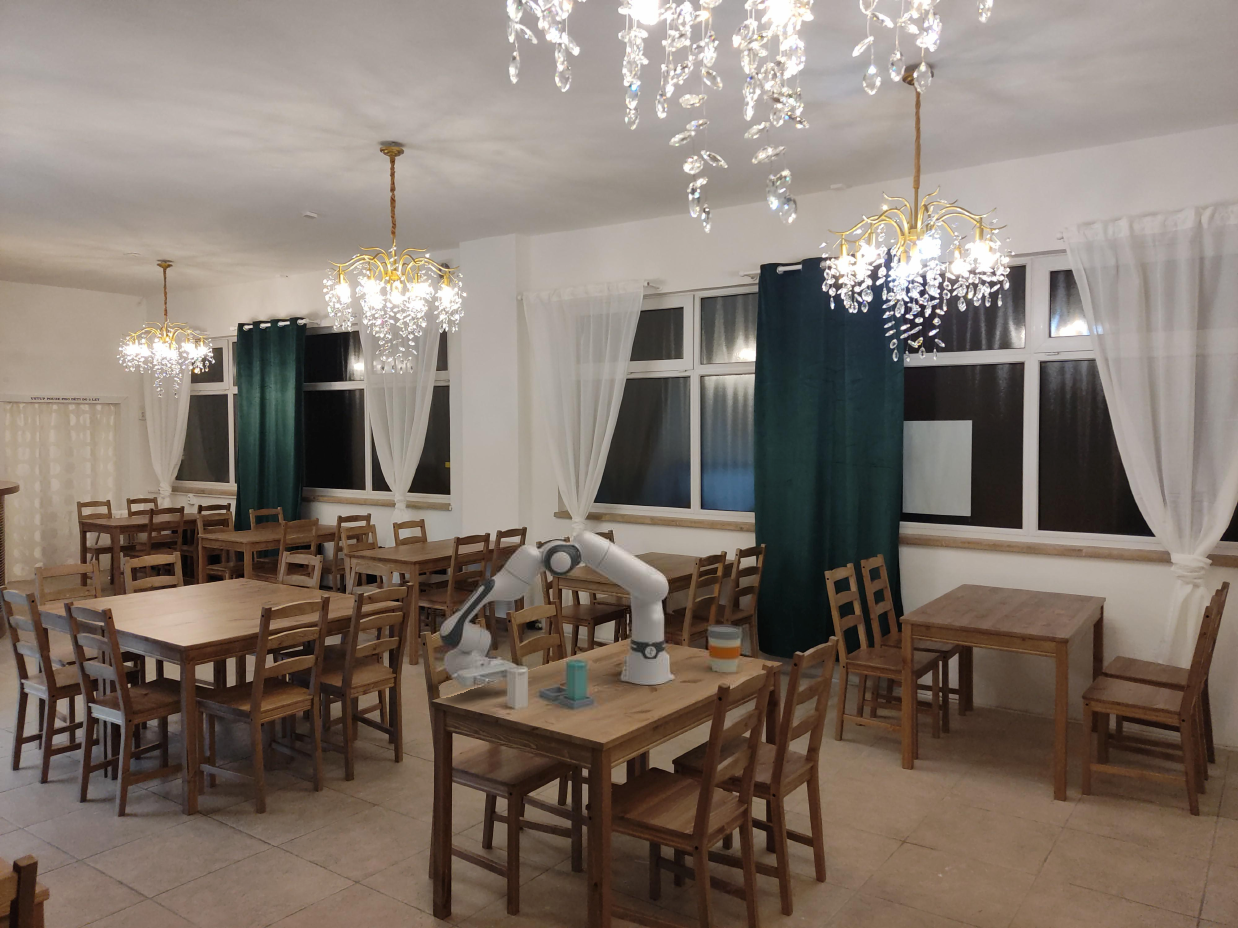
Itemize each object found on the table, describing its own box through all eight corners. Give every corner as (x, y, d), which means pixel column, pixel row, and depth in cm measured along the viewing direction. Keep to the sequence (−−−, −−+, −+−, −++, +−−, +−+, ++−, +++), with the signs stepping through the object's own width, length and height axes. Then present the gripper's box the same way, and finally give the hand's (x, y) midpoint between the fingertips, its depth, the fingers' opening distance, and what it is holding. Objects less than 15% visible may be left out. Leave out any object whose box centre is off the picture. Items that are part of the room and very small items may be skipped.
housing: (534, 700, 279) (534, 689, 278) (559, 694, 285) (559, 684, 285) (573, 715, 264) (573, 704, 263) (599, 709, 270) (599, 697, 270)
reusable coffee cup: (743, 666, 323) (743, 625, 323) (739, 675, 311) (740, 632, 311) (709, 663, 326) (710, 623, 326) (704, 672, 314) (704, 630, 314)
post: (504, 710, 268) (504, 667, 268) (519, 706, 272) (519, 665, 272) (515, 714, 264) (515, 671, 264) (530, 710, 268) (530, 668, 268)
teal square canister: (563, 703, 271) (563, 661, 270) (577, 699, 275) (577, 658, 274) (574, 707, 267) (575, 665, 266) (589, 704, 270) (589, 662, 270)
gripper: (448, 666, 279) (472, 675, 268) (502, 655, 292) (527, 663, 282) (448, 685, 279) (472, 695, 268) (502, 674, 292) (527, 683, 282)
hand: (500, 679), depth 275 cm, fingers open, 8 cm apart
